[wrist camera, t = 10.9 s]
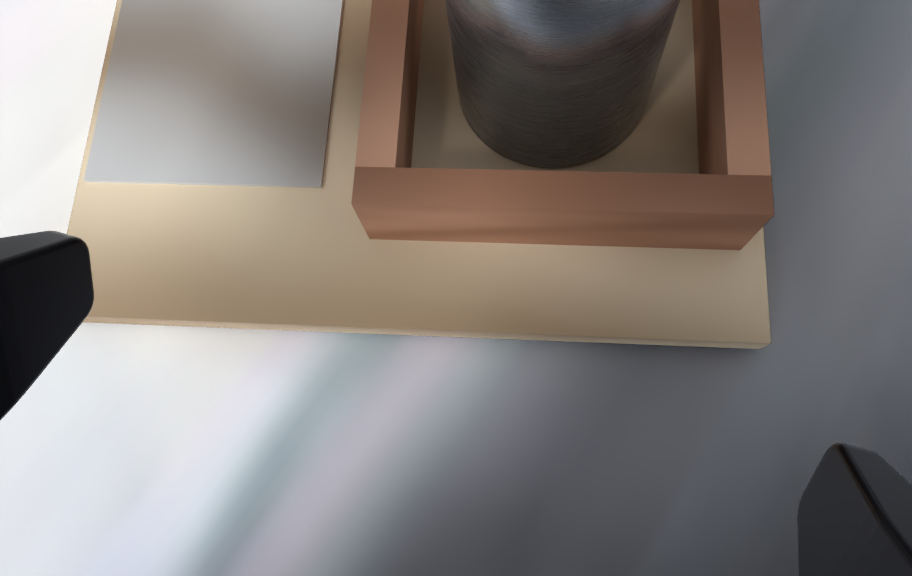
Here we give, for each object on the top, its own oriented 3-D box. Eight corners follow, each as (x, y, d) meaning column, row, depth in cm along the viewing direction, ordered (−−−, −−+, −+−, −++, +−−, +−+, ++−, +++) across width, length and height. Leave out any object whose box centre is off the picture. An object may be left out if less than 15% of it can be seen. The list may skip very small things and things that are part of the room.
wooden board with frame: (761, 349, 15) (810, 320, 13) (64, 321, 17) (-13, 290, 14) (732, -108, 19) (767, -201, 16) (154, -104, 20) (103, -190, 17)
